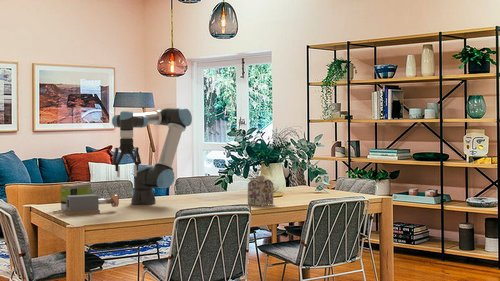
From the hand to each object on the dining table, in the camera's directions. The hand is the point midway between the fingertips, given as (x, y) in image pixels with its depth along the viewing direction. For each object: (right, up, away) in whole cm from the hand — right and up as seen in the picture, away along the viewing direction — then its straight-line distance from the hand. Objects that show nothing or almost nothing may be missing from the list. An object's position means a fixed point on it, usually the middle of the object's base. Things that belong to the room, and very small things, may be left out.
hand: (126, 176), depth 390 cm
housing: (-22, -20, -12) cm, 33 cm away
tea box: (-31, -20, +6) cm, 37 cm away
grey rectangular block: (-14, -17, -8) cm, 24 cm away
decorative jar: (+78, -19, +28) cm, 85 cm away
